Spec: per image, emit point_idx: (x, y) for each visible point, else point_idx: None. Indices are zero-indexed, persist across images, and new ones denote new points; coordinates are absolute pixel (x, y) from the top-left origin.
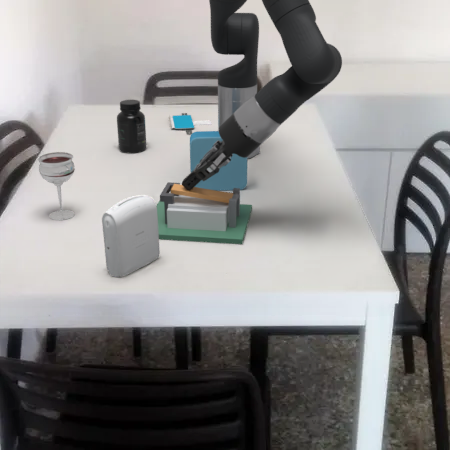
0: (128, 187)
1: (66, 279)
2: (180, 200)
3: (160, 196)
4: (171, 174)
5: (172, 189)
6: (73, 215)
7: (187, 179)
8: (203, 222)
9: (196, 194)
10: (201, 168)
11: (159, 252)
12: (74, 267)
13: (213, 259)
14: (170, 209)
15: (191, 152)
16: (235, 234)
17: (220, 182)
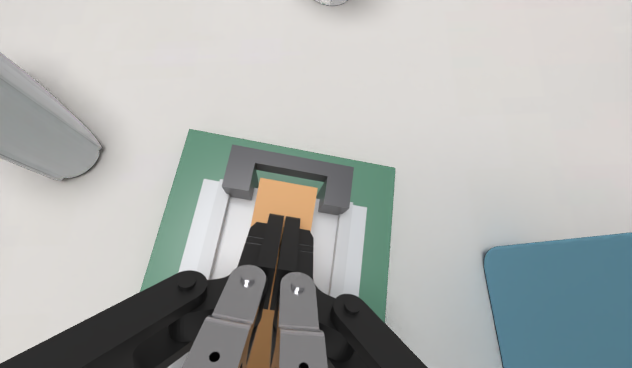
0: (481, 99)
1: (10, 3)
2: None
3: (231, 147)
4: (577, 193)
5: (261, 183)
6: (325, 3)
7: (263, 235)
8: None
9: None
10: (73, 329)
11: (51, 178)
12: (65, 15)
13: (21, 331)
14: (209, 189)
15: (593, 242)
16: None
17: (516, 341)
